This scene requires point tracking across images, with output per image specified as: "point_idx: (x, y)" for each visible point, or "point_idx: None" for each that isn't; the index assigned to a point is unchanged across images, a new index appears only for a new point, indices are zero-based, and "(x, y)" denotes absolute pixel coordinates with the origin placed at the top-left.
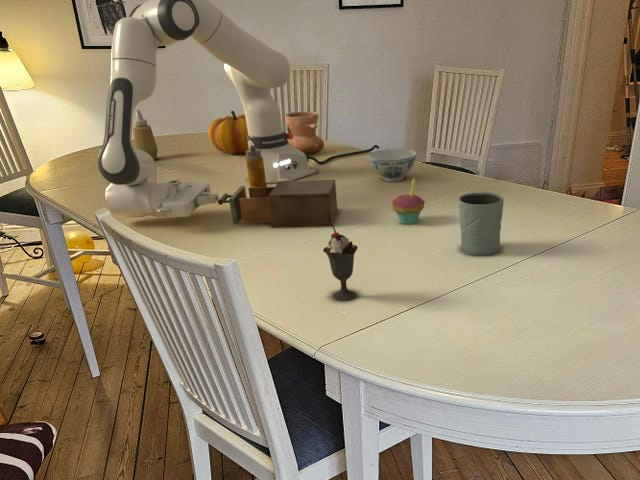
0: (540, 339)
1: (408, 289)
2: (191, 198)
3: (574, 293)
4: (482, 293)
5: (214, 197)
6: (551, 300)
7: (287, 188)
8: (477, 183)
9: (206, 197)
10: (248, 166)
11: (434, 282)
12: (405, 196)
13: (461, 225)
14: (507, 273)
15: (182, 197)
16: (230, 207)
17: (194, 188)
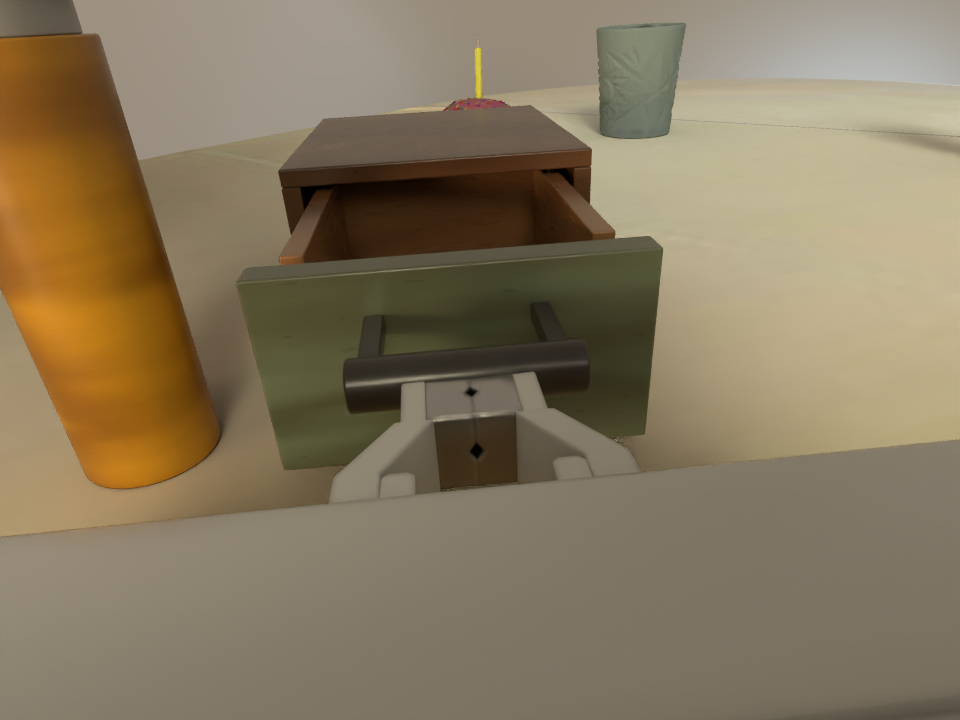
0: (924, 103)
1: (884, 143)
2: (863, 451)
3: (762, 104)
4: (826, 121)
5: (532, 377)
6: (799, 107)
7: (452, 142)
8: (186, 158)
9: (571, 421)
10: (73, 114)
11: (824, 137)
12: (485, 99)
13: (662, 80)
14: (729, 120)
15: (931, 613)
16: (655, 315)
17: (153, 654)
